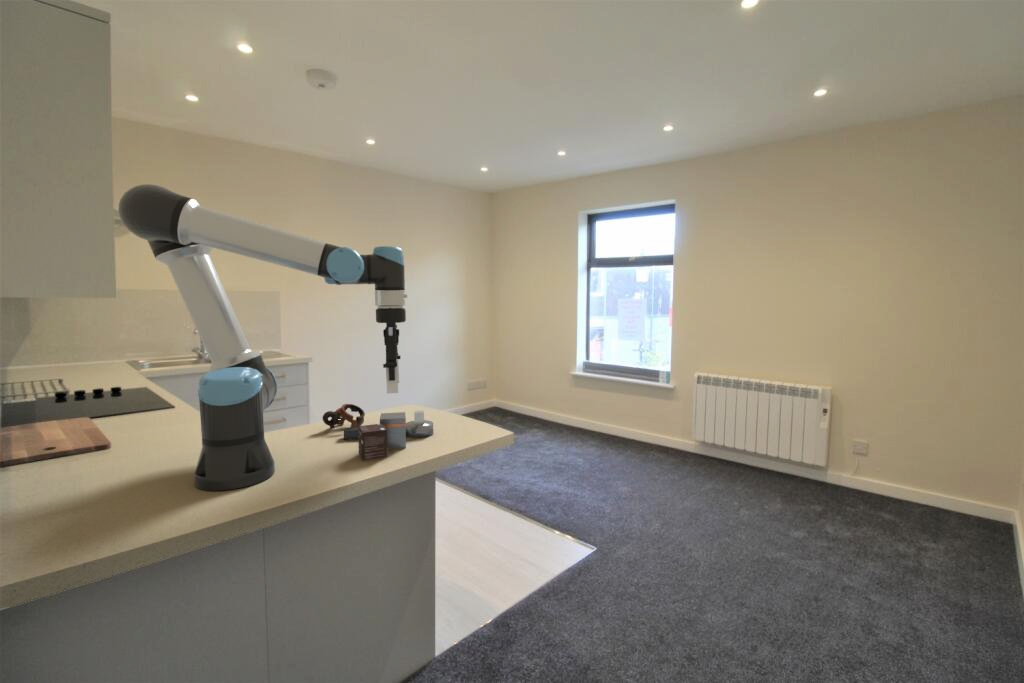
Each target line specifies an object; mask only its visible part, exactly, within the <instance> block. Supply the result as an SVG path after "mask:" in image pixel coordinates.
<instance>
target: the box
mask: <svg viewBox="0 0 1024 683" xmlns="http://www.w3.org/2000/svg"><path fill="white" fill-rule="evenodd" d="M357 440H358V455H359V457H360V459H361V461H362V462H368V461H374V460H382V459H387V458H388V449H387V429H386V428H385V426H383V425H382V424H380V423H374V424H367V425H361V426H358V439H357Z"/></svg>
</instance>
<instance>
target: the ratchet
mask: <svg viewBox="0 0 1024 683" xmlns="http://www.w3.org/2000/svg"><path fill="white" fill-rule="evenodd" d="M424 411H425V410H414V412H413V414H414V415H413V416H414V420H411V421H406V437H407V438H411V439H422V438H428V437H432V436H433V435H434V422H433V421H431V420H426V419H425V412H424ZM353 440H358V427H351V426H350V427H344V429H343V441H353Z"/></svg>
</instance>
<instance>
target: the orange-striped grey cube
mask: <svg viewBox="0 0 1024 683" xmlns="http://www.w3.org/2000/svg"><path fill="white" fill-rule="evenodd" d="M379 416H380V417H379V424H382V425H383V426H385V428H386V429H387V450H398V449H406V447H407V438H406V437H407V436H406V423H407V418H406V412H405V411H403V412H401V411H400V412H399V411H398V412H383V413H382V412H381V413H380V415H379Z"/></svg>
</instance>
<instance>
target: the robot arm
mask: <svg viewBox="0 0 1024 683" xmlns="http://www.w3.org/2000/svg"><path fill="white" fill-rule="evenodd" d="M119 199H120V200H119V203H118V214H119V217H120V218H119V219H120V220H121V222H122V225H124V227H125V228H126V229H127V230H128V231H129V232H131V234H133V235H134V236H136V237H138V238H141V239H143V240H145V241H147V243H148V244H149V245H148V246H149V247H150V249H151V252H152V254H153V257H154V258H155V260H156V261H158V262H160V263H162V264H165V265H167V267H168V269H169V272H170V274H171V276H172V279H173V281H174V282H175V285H176V287H177V289H178V291H179V294H180V295H181V298H182V300H183V302H184V305H185V306H186V309H187V311H188V313H189V315H190V318H191V320H192V322H193V324H194V327H195V329H196V331H197V334H198V335H199V337H200V340H201V343H202V345H203V346H204V348H205V350H206V353H207V355H208V357H209V359H210V361H211V365H210V367H209V369H208V371H207V373H204V374H203V375H202V376H201V377H200V379H199V381H198V388H197V396H198V399H199V400H198V402H199V415H200V417H199V418H200V427H201V428H200V431H201V445H202V446H201V451H200V454H199V457H198V460H197V463H196V467H195V470H194V474H193V478H194V479H193V481H194V486H195V487H196V488H197V489H198V490H204V491H212V492H213V491H214V492H215V491H216V492H217V491H227V490H230V491H231V490H235V489H241V488H246V487H248V486H253V485H255V484H259V483H261V482H263V481H266V480H268V479H270V478H271V477H272V476H273V475H274V474H275V472H276V470H275V469H276V468H275V461H274V458H273V455H272V453H271V451H270V449H269V446H268V444H267V442H266V441H267V440H266V439H265V423H264V422H265V421H264V411H265V410H266V409H267V408H269V407H270V406H271V404H272V403H273V402H274V400H275V397H276V395H277V392H278V383H277V379H276V375H274V373H273V372H272V371H271V370H270V369H269V368H268V367H267V366H266V364H265V362H264V359H263V357H262V355H261V353H260V352H257V351H255V350H253V349H251V347H250V345H249V342H248V340H247V338H246V336H245V333H244V331H243V328H242V327H241V324H240V322H239V320H238V317H237V315H236V313H235V310H234V308H233V306H232V303H231V302H230V298H229V297H228V295H227V292H226V290H225V287H224V285H223V283H222V281H221V278H220V277H219V276H220V275H219V274H218V272H217V269H216V267H215V265H214V262H213V260H212V258H211V256H210V255H211V253H212V250H213V249H217V250H222V251H225V252H229V253H232V254H235V255H236V254H237V255H238V256H239V255H240V256H242V257H243V256H244V257H248V258H251V259H255V260H259V261H262V262H267V263H269V264H274V265H276V266H277V265H278V266H280V267H283V268H284V267H285V268H289V269H293V270H296V271H300V272H303V273H307V274H310V275H315V276H319V277H321V278H323V279H324V282H325V283H326V284H328V285H337V286H341V285H374V305H375V306H376V307H377V308H376V309H375V321H376V323H378V324H386V327H385V328H384V329H383V330H382V333H383V334H382V335H383V338H384V340H383V342H384V346H385V363H383V364H382V367H383V369H385V374H386V375H385V376H386V377H385V378H386V394H387V395H388V394H399V384H400V374H399V360H401V355H399V353H398V352H399V351H398V345H399V341H400V340H399V337H400V329H399V328H398V325H397V324H401V323H404V322H406V320H407V316H406V315H407V314H406V313H407V312H406V308H405V305H406V300H405V299H408V294H405V286H406V285H405V280H406V278H405V261H404V251H403V250H402V248H401V247H398V246H392V245H391V246H388V245H385V246H384V245H383V246H375V247H374V248H373V252H372V253H370V254H360V253H359V252H357V251H356V250H355V249H354V248H353V249H352V248H350V247H346V246H345V247H341V246H337V245H335V244H329V243H327V242H323V241H321V240H319V239H314V238H310V237H308V236H303V235H301V234H297V233H294V232H290V231H287V230H283V229H279V228H276V227H273V226H270V225H265V224H262V223H259V222H255V221H254V220H253V221H252V220H249V219H245V218H243V217H239V216H235V215H232V214H229V213H225V212H221V211H218V210H214V209H211V208H208V207H205V206H201V205H200V203H199V202H198V200H197V199H194V198H192V197H188V196H185V195H181V194H179V193H176V192H174V191H172V190H170V189H168V188H166V187H163V186H161V185H156V184H150V183H146V184H139V185H135V186H133V187H131V188H129V189H127V191H126V192H124V193H123V195H122V196H121V198H119Z"/></svg>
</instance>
